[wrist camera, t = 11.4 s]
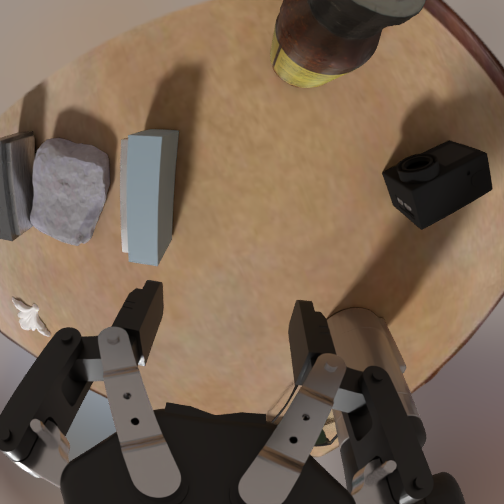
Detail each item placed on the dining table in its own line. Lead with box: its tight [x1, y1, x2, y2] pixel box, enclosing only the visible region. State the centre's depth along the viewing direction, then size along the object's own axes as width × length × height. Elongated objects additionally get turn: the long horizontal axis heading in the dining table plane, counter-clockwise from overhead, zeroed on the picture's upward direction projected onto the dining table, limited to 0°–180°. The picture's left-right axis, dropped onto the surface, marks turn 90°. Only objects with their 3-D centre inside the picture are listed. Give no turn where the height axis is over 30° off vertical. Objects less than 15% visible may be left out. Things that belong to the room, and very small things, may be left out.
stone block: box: [30, 138, 110, 246], centre depth 28 cm, size 12×5×10 cm
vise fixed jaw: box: [0, 131, 35, 241], centre depth 25 cm, size 4×12×6 cm, turn 171°
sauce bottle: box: [270, 0, 425, 88], centre depth 14 cm, size 6×6×20 cm
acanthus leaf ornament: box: [12, 297, 51, 337], centre depth 39 cm, size 8×7×2 cm
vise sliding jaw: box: [120, 129, 179, 266], centre depth 26 cm, size 4×12×6 cm, turn 171°
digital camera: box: [382, 141, 492, 230], centre depth 25 cm, size 10×5×7 cm, turn 119°
